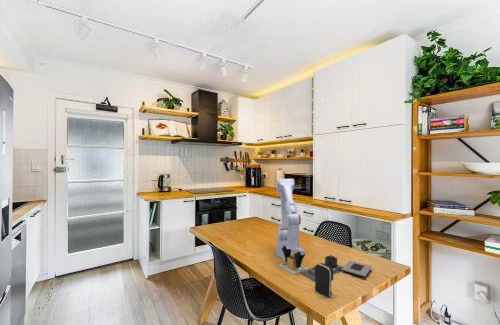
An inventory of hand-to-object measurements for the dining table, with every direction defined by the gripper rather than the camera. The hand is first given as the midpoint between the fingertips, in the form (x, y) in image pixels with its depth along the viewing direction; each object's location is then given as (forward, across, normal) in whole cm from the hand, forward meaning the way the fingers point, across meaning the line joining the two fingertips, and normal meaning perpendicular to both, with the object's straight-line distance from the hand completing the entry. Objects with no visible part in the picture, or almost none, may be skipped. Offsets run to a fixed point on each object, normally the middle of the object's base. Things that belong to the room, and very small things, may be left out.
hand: (293, 264), depth 117 cm
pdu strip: (+2, +11, +10) cm, 15 cm away
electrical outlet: (+2, +18, +25) cm, 31 cm away
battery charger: (+2, +23, -4) cm, 23 cm away
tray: (+2, 0, 0) cm, 2 cm away
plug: (+2, 0, 0) cm, 2 cm away
